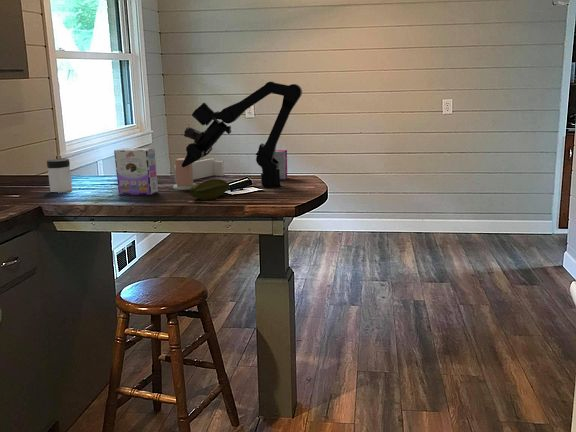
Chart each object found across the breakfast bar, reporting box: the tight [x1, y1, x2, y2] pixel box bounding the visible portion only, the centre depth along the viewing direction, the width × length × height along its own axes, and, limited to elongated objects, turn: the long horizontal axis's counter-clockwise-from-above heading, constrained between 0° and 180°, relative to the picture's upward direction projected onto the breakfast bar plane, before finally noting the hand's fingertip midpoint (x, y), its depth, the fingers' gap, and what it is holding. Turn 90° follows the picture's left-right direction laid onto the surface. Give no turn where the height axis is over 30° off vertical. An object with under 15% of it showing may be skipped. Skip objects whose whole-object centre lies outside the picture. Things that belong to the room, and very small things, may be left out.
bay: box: [173, 157, 225, 184], centre depth 256 cm, size 6×22×7 cm, turn 143°
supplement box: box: [274, 149, 288, 181], centre depth 249 cm, size 6×6×12 cm
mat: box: [172, 182, 196, 191], centre depth 238 cm, size 9×9×1 cm
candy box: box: [113, 147, 159, 196], centre depth 229 cm, size 14×6×16 cm, turn 71°
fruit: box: [189, 178, 230, 201], centre depth 216 cm, size 11×12×7 cm
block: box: [174, 157, 194, 187], centre depth 237 cm, size 5×5×10 cm
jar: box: [46, 158, 73, 194], centre depth 240 cm, size 9×8×12 cm
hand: (185, 164), depth 236 cm, fingers open, 9 cm apart
